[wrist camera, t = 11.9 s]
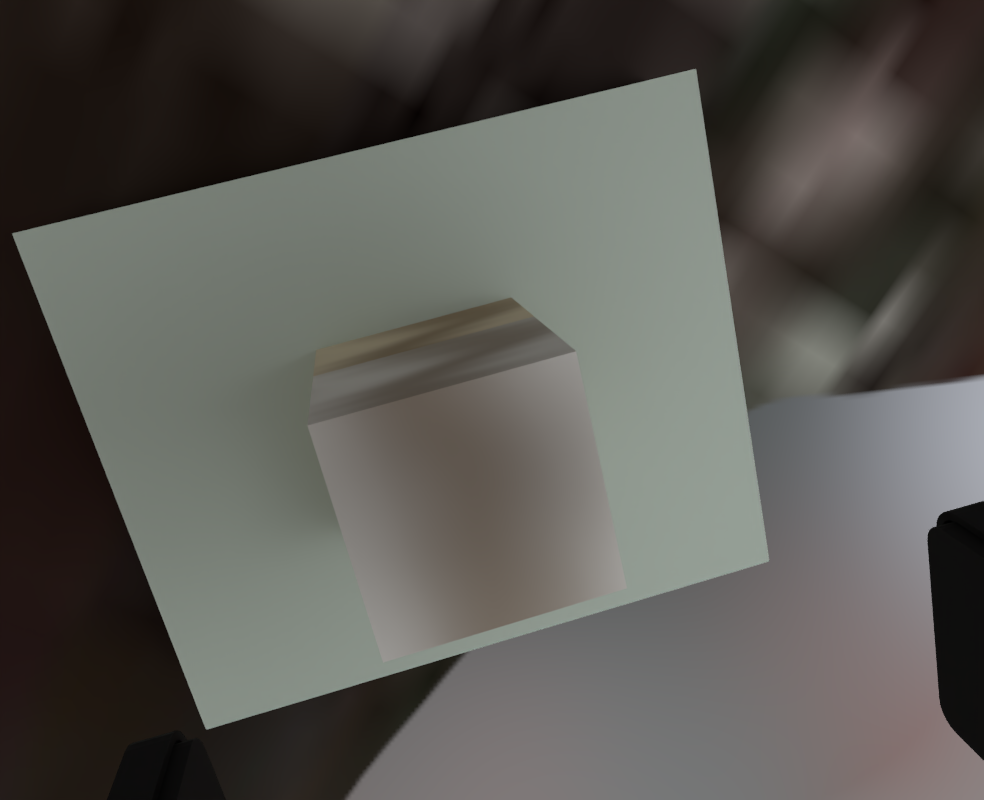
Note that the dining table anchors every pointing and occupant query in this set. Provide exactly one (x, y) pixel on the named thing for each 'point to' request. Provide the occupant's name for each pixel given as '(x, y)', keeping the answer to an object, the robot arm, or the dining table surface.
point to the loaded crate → (463, 475)
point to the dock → (385, 306)
